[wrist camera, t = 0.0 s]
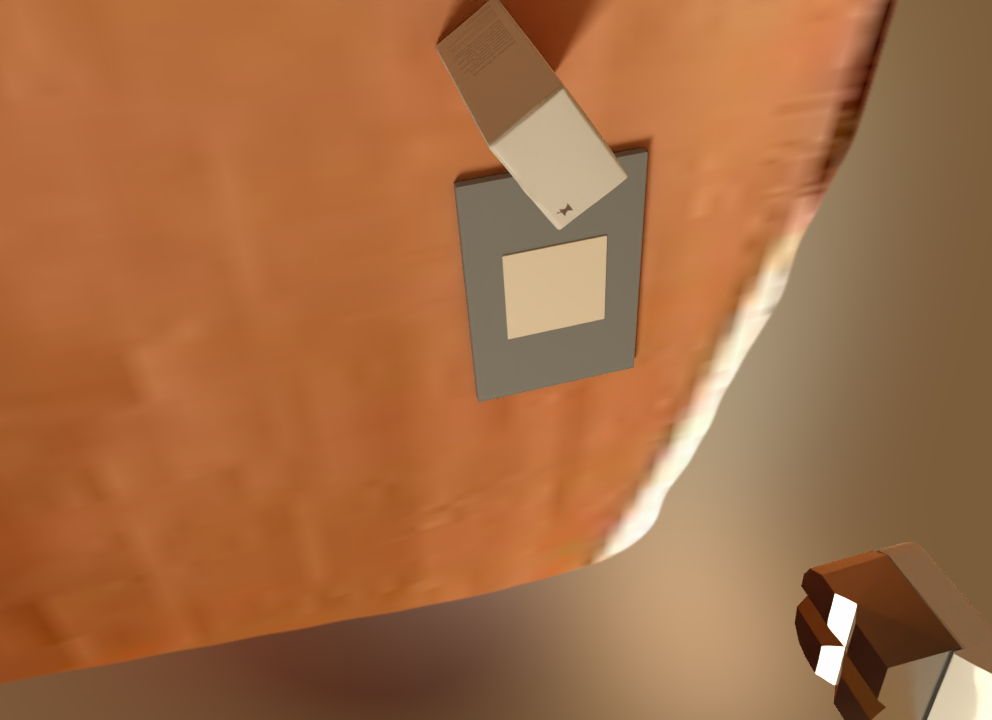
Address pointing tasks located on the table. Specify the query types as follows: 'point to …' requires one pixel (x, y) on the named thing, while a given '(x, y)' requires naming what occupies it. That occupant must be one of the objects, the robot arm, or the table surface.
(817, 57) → the table surface
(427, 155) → the table surface
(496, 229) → the rubber mat
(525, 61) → the skincare box
